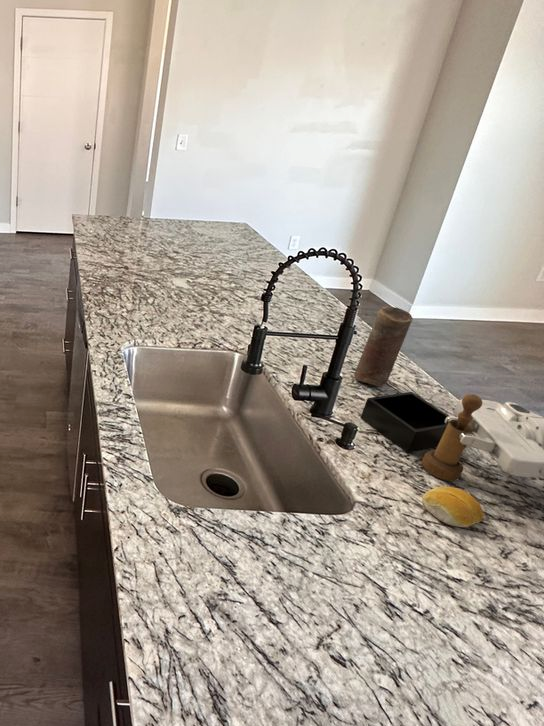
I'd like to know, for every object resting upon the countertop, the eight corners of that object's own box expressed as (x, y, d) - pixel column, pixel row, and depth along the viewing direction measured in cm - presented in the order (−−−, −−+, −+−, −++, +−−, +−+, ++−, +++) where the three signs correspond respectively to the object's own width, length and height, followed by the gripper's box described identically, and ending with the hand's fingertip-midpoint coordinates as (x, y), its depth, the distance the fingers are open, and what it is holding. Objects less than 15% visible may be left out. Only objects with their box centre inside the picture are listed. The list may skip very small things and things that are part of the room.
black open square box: (403, 411, 128) (411, 391, 125) (452, 445, 117) (462, 424, 114) (360, 418, 124) (367, 397, 122) (406, 453, 114) (416, 432, 111)
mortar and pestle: (466, 483, 106) (504, 408, 98) (431, 479, 107) (466, 404, 99) (448, 461, 112) (483, 388, 104) (415, 456, 112) (446, 384, 105)
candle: (388, 381, 140) (415, 312, 131) (384, 393, 134) (411, 321, 126) (356, 370, 144) (380, 303, 135) (350, 381, 139) (374, 311, 130)
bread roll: (488, 520, 97) (497, 503, 96) (457, 534, 94) (466, 518, 92) (441, 489, 104) (449, 473, 102) (411, 501, 101) (419, 485, 99)
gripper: (562, 491, 95) (475, 478, 97) (496, 422, 113) (424, 413, 115) (579, 463, 92) (489, 450, 94) (509, 397, 110) (435, 388, 113)
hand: (453, 429), depth 105 cm, fingers closed on mortar and pestle, 4 cm apart
